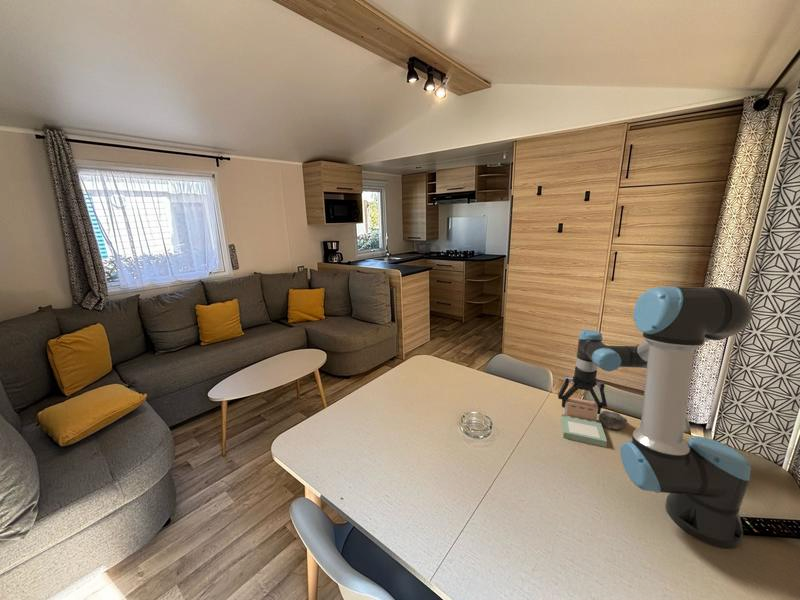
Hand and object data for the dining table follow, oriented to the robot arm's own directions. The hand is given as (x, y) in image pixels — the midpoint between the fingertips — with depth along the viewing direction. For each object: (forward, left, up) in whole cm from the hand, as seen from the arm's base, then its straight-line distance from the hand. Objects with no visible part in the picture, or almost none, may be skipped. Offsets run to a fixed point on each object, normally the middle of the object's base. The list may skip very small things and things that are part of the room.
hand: (579, 416), depth 129 cm
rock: (+2, -12, -2) cm, 12 cm away
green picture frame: (-9, 0, -1) cm, 9 cm away
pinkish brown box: (0, 0, -1) cm, 1 cm away
